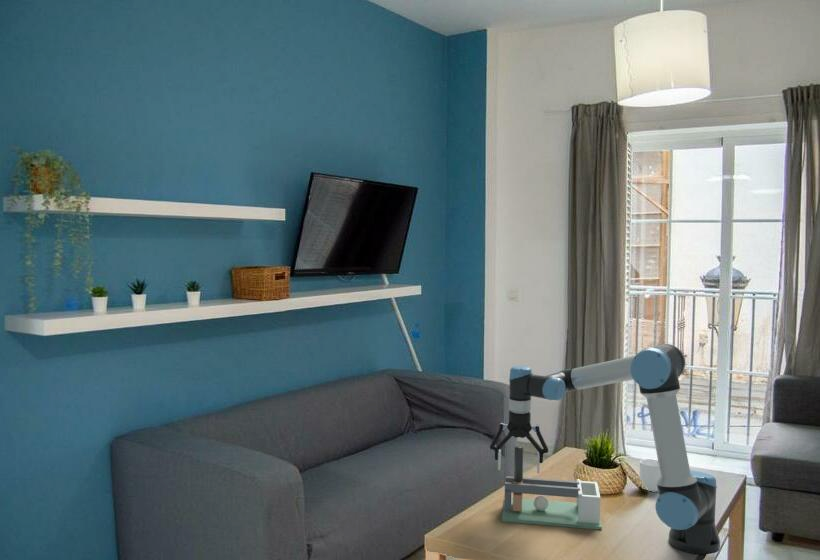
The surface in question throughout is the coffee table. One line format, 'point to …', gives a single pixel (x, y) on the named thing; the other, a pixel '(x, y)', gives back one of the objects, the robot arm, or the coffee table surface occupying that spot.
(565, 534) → the coffee table surface
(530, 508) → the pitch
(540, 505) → the ball
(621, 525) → the coffee table surface
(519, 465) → the post
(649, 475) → the mug
